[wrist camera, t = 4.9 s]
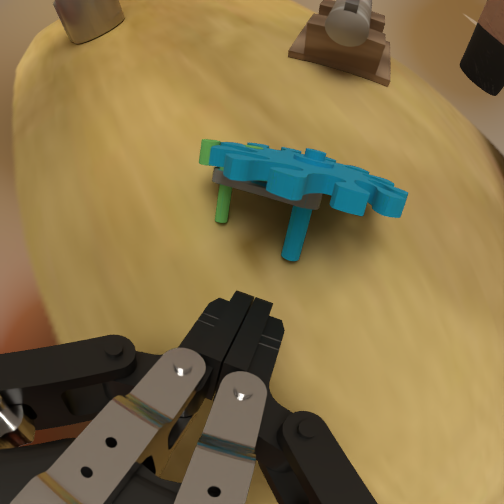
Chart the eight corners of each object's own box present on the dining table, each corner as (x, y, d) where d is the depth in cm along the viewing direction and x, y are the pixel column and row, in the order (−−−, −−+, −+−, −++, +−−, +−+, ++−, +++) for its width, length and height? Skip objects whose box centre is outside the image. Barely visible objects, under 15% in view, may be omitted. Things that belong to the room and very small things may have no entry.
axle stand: (387, 94, 20) (414, 26, 13) (283, 63, 22) (287, -10, 14) (388, 47, 24) (403, -5, 16) (309, 23, 25) (314, -30, 17)
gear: (401, 172, 16) (434, 203, 7) (375, 253, 18) (370, 345, 10) (246, 130, 19) (148, 129, 10) (233, 206, 22) (142, 254, 13)
